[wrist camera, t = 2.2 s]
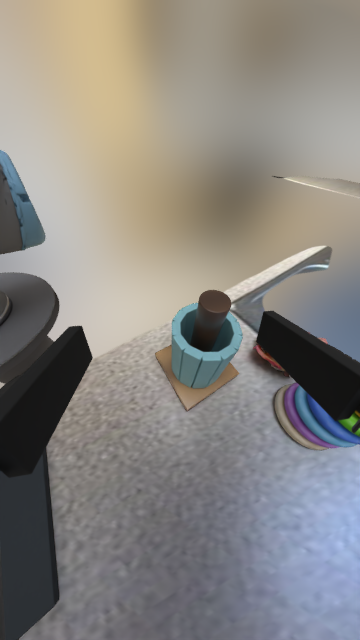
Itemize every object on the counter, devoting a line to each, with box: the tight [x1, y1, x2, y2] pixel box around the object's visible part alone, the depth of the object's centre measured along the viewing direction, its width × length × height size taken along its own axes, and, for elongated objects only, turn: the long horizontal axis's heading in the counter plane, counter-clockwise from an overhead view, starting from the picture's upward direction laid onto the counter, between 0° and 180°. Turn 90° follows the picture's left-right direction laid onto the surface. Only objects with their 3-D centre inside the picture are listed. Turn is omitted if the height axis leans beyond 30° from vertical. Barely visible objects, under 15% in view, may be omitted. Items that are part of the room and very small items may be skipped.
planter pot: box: [172, 303, 243, 388], centre depth 22 cm, size 8×8×10 cm
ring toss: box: [155, 290, 239, 411], centre depth 21 cm, size 10×10×16 cm
